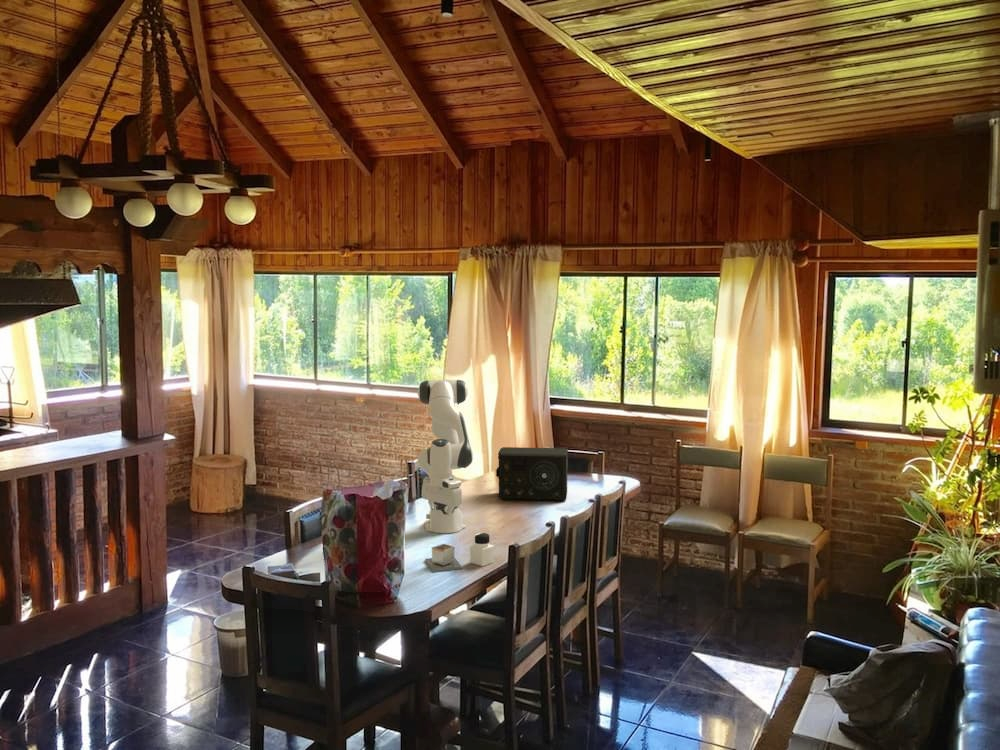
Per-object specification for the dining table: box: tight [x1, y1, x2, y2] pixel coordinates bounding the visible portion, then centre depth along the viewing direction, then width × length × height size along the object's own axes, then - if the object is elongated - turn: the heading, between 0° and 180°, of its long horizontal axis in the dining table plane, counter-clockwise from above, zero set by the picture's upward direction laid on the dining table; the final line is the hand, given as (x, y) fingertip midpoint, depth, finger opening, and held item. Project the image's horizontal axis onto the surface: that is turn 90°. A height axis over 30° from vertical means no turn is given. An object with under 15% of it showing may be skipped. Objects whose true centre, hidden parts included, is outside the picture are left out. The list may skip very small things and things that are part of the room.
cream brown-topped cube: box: [431, 543, 456, 565], centre depth 354 cm, size 7×7×6 cm
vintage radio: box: [495, 446, 569, 502], centre depth 458 cm, size 38×20×25 cm, turn 83°
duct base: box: [424, 557, 463, 573], centre depth 354 cm, size 14×12×5 cm
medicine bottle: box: [469, 532, 495, 567], centre depth 356 cm, size 7×7×12 cm
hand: (441, 513), depth 352 cm, fingers open, 8 cm apart
